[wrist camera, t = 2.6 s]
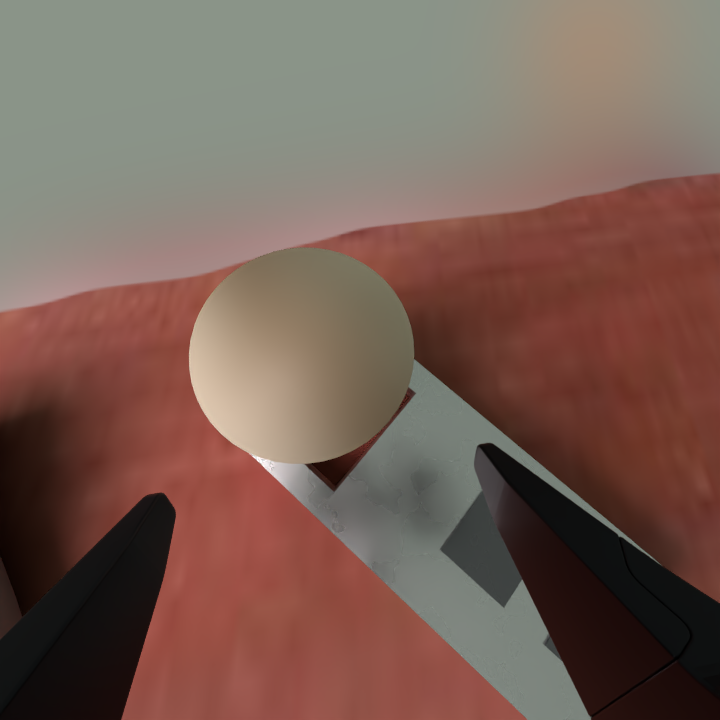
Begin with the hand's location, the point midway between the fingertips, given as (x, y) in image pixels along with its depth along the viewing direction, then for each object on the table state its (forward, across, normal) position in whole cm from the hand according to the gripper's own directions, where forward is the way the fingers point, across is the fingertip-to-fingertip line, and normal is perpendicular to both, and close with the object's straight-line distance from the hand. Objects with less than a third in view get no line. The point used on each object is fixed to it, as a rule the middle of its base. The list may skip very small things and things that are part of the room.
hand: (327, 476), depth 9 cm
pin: (+9, 0, +5) cm, 11 cm away
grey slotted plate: (+5, -5, +9) cm, 12 cm away
